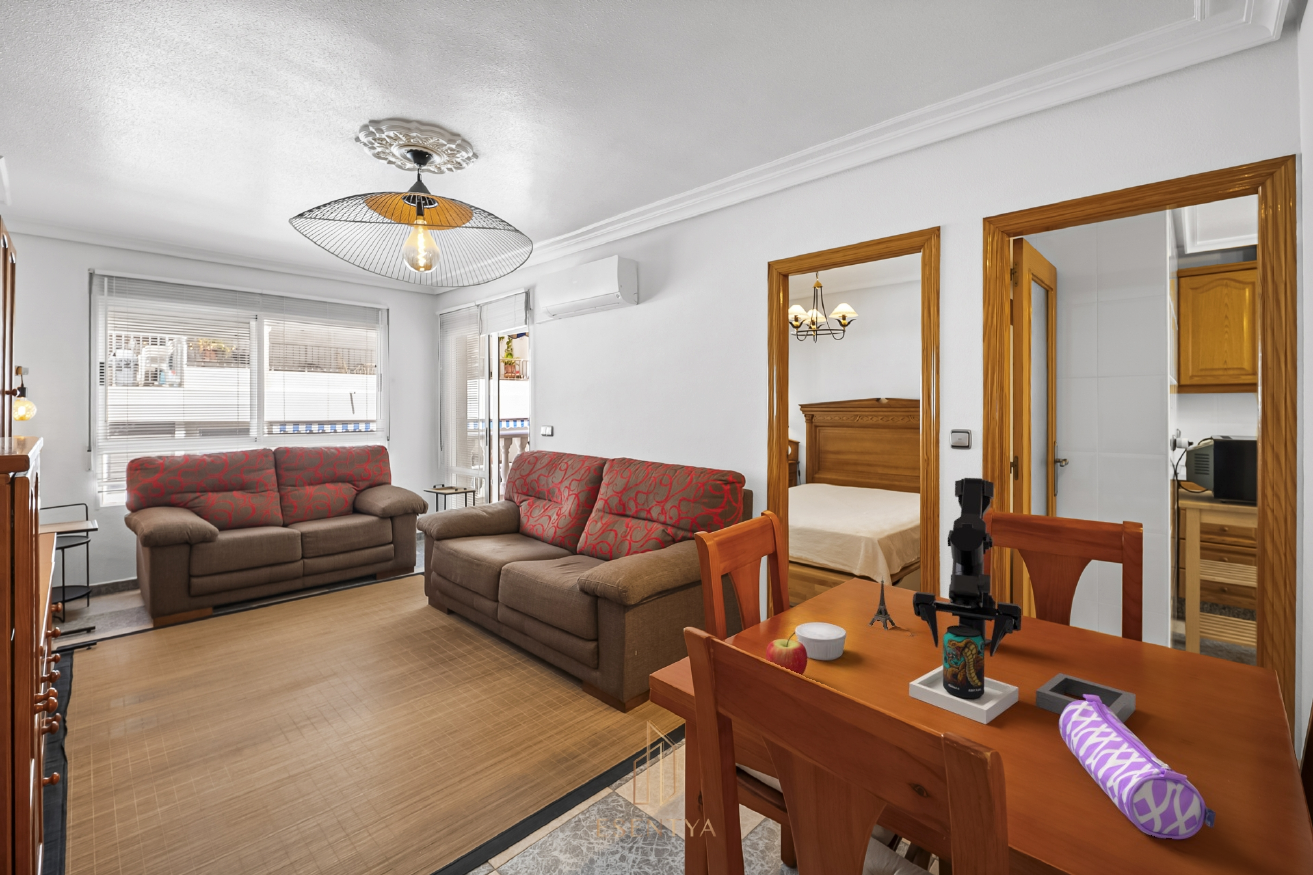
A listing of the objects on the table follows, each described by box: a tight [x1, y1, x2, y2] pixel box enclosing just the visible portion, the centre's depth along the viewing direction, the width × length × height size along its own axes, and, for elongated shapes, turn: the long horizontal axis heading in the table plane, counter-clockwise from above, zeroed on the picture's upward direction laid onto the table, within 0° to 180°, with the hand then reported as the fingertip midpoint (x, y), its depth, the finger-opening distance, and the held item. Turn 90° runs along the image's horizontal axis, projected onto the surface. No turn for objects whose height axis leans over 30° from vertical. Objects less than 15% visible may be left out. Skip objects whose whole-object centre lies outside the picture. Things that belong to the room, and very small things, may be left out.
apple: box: [765, 631, 808, 676], centre depth 124 cm, size 8×8×10 cm
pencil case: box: [1058, 694, 1216, 840], centre depth 86 cm, size 22×9×10 cm, turn 170°
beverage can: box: [942, 624, 986, 700], centre depth 115 cm, size 7×7×12 cm
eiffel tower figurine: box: [867, 576, 914, 637], centre depth 155 cm, size 15×10×13 cm
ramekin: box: [794, 621, 847, 661], centre depth 138 cm, size 11×11×5 cm
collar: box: [1035, 672, 1136, 724], centre depth 111 cm, size 12×12×3 cm
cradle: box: [908, 664, 1019, 725], centre depth 115 cm, size 14×14×2 cm
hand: (963, 651), depth 114 cm, fingers open, 9 cm apart
